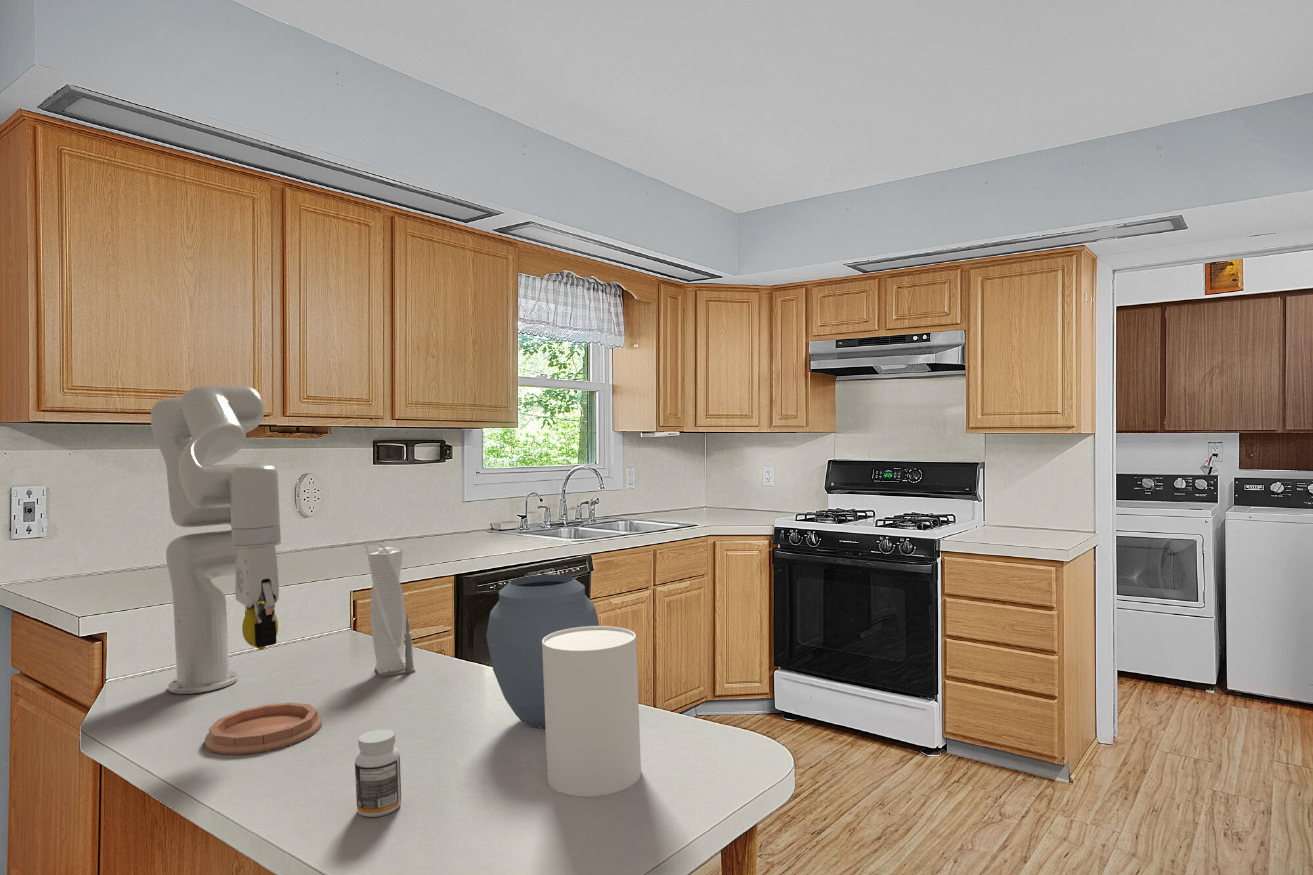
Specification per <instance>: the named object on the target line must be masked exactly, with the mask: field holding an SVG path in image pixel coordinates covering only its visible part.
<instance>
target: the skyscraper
mask: <svg viewBox="0 0 1313 875" xmlns="http://www.w3.org/2000/svg"><path fill="white" fill-rule="evenodd" d="M368 546H377V547H379V548H378V549H377V551H376V552H372V553H369V549H368ZM364 549H365V552H366V555H367V560H368V565H369V570H370V574H371V581H372V587H371V593H370V594H371V595H370V607H369V608H370V609H369V610H370V613H369V614H370V628H371V637H372V642H373V643H372V644H373V649H374V654H375V655H374V656H375V660H376V663H375V666H374V670H375V672H376V674H377V675H378V676H379V677H380V678H381V679H383V678H389V677H396V676H399V675H404V674H412V673H415V672H416V669H415V666H414V660H413V659H414V658H413V657H414V651H413V641H412V636H413V635H412V634H413V632H411V629H410V623H411V622H410V621H411V620H409V612H406V605H405V604H406V603H405V597H404V596H405V595H404V591H403V588H402V584H401V581H400V577H401V569H402V562H403V552H404V550H403V548H402V547H399V546H384V545H382V544H380V543H378V542H366V543H365V544H364ZM404 645H405V646H404ZM404 647H405V648H404ZM403 655H404V657H405V662H403Z"/></svg>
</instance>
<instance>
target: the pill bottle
mask: <svg viewBox="0 0 1313 875" xmlns="http://www.w3.org/2000/svg"><path fill="white" fill-rule="evenodd" d="M395 734H396V733H395V732H394V731H393V730H391V729H376V730H372V731H371V730H370V731H368V732H365V733H363V734H362V735H360V736H359V737H358V739H357V740H358V749H359V751H360V752H359V753H358V754H357V755H356V757H355V758H354V759H355V761H354V770H355V772H354V774H355V794H356V795H355V796H356V797H355V798H356V811H357V813H358V814H359V815H361V816H362V817H366V818H377V817H382V816H387V815H389V814H391V813H393V812H394V811H396V810H397V809H398V808H400V806H401V804H402V781H401V780H402V779H401V778H402V777H401V754H400V751H399V749H398V748H397V747H396V746H395V743H396V735H395Z"/></svg>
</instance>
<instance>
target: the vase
mask: <svg viewBox="0 0 1313 875" xmlns="http://www.w3.org/2000/svg"><path fill="white" fill-rule="evenodd" d="M585 589H586V586H585V585H584V584H582V583H581V582H580V581H578V580H577V579H575V578H574V577H573V576H570V575H565V574H538V575H537V574H534V575H527V576H521V577H518V578H515V579H511V580H510V581H509V582H508V583H507V584H506V585H505V586H504V587H503V588H501V589H500V590H499V591H498V599H499V600H498V601H497V603H496V604H495V605H494V606H493V608H492V609H491V610H490V613H489V618H488V623H487V631H486V635H485V636H486V641H487V642H486V643H487V647H488V651H489V656H490V661H491V666H492V671H493V673H494V676H495V678H496V681H497V683H498V686H499V688H500V690H501V692H502V693H501V694H502V695H503V698H504V700H505V701H506V703H507V705H508V706H509V707H510V709H511V710H512V712H513V713H514V714H515V716H516V717H517V718H518V719H519V721H521V722H522V723H523V724H525V725H527V726H529V727H532V728H538V729H546V726H545V701H544V676H543V651H542V640H543V638H544V637H546V636H547V635H549V634H551V633H554V632H557V631H561V630H565V629H570V628H577V627H588V626H601V625H600V622H599V618H598V614H597V609H596V606H595V604H594V602H592V601H591V600H590V599H589V598H588V597H587V595H586V590H585Z"/></svg>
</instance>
